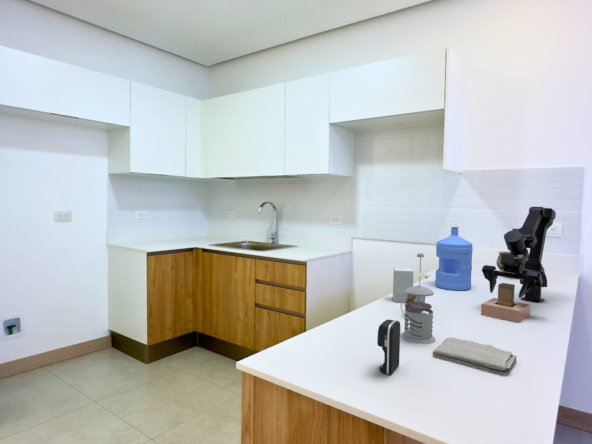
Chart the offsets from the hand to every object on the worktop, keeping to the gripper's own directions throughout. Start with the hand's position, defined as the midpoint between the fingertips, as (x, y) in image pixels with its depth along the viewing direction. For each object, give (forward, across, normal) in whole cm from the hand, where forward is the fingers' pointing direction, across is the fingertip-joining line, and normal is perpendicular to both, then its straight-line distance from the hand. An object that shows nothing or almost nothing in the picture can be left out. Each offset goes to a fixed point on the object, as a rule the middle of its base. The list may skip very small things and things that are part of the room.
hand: (504, 294), depth 134 cm
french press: (+35, -10, -24) cm, 44 cm away
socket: (+4, 0, +6) cm, 8 cm away
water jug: (-16, -32, +27) cm, 45 cm away
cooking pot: (-52, -21, +64) cm, 85 cm away
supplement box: (+11, -35, 0) cm, 37 cm away
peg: (+4, 0, +6) cm, 8 cm away
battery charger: (+52, -4, -42) cm, 67 cm away
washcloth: (+38, +8, -26) cm, 47 cm away
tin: (+20, -22, -9) cm, 31 cm away
